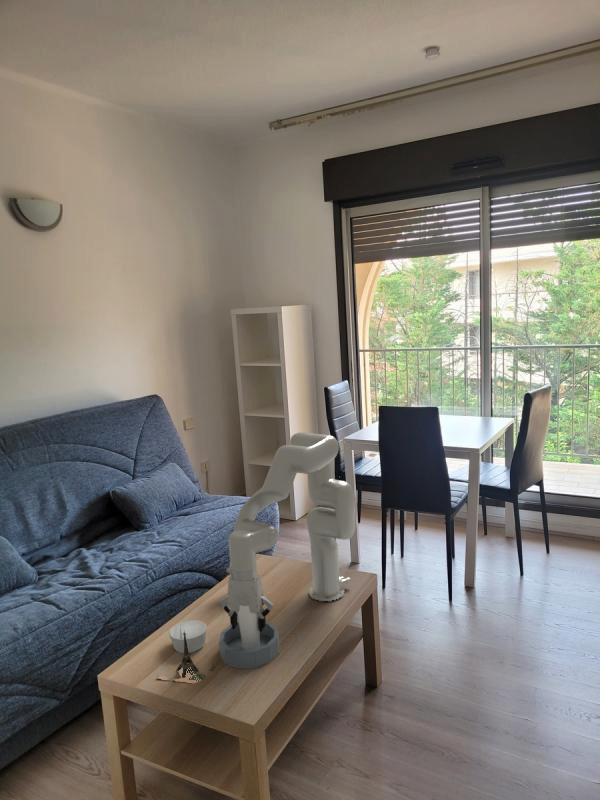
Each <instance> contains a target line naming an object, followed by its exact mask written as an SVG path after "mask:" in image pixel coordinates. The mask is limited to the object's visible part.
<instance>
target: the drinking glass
mask: <svg viewBox="0 0 600 800" xmlns="http://www.w3.org/2000/svg"><path fill="white" fill-rule="evenodd" d="M237 618H238V622H239V628H240V634H241V640H242V647H243V649H244V650H249V649H256V648H258V647H260V631H259V622H258V619H259V618H260V617H259V616H258V614H257V613H250V610H249V606H243V605H240V610H239V612H237Z"/></svg>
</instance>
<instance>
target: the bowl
mask: <svg viewBox="0 0 600 800" xmlns="http://www.w3.org/2000/svg"><path fill="white" fill-rule="evenodd" d="M218 645H219V647H218V648H219V657H220V659H221V660H222V661H223V662H224V664H225V666H230V667H233V668H236V669H239V670H243V669H255V668H256V669H257V668H260V667H261V666H264V665H266V664H269V663H271V662H272V661H273V660H274V659H275V658H276V657H277V656H278V655H279V654H280V636H279V628H277V627H276V626H275V625H274V624H273V623H272V622H269V621H266V626H265V628H264V629H263V630H262V632H260V647H258V648H256V649H249V650H244V649H243V647H242V640H241V634H240V628H239V622H238V625H237V626H236V628H235V629H232V625H231V624H230V625H229V626H227V627H226V628H225V629H224V630H223V631H221V632H220V634H219V640H218Z"/></svg>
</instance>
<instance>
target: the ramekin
mask: <svg viewBox="0 0 600 800" xmlns="http://www.w3.org/2000/svg"><path fill="white" fill-rule="evenodd" d="M207 631H208V626H207V624H206V623H205V622H204V621H200V620H193V619H192V620H191V619H190V620H186V621H181V622H179V623H178V624H176V625H174V626H173V627H172V628H171V629H170V631H169V638H170V639H171V642H172V646H173V649H174V650H176V651H177V652H178V653H180V654H184V635H183V633H184V632H185V633H186V641H187V647H188V652H189V654H190V653H194V652H197V651H199V650H201V648H203V646H204V645H205V643H206V639H207V638H206V637H207Z"/></svg>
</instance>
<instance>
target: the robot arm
mask: <svg viewBox="0 0 600 800" xmlns="http://www.w3.org/2000/svg"><path fill="white" fill-rule="evenodd" d="M339 447H340V446H339V442H338V440H337V439H336V437H334V436H333V435H328V434H322V433H321V434H320V433H312V432H296V433H294V434H293V435H291V437H290V441H289V444H285V445H281V446H280V447H278V449H277V450H276V452H275V455H274V457H273V458H272V459H273V460H272V461H271V465H270V467H269V470H268V473H267V474H266V477H265V479H264V482H263V486H262V487H260V489H258V490H256V492H255V493H253V494H252V495H251V496H250V497H249V498H248V499H247V500H246V502H244V504H243V505H242V507H241V509H240V510H239V513H238V515H237V517H236V520H235V523H234V527H233V531H232V532H231V533H230V534H229V536H228V548H229V549H228V550H229V565H230V564H231V567H230V566H229V567H227V568H226V573H229V574H230V573H231V575H230V576H229V577H228V583H227V595H226V596H224V597H223V598H222V599H221V600H219V604H220V605H221V607H222V608H223V610H224V611H225V612H226V613H227V615H228V617H229V621H230V622H229V623H230V625H232V629H235V628H236V626H237V625H238V616H237V612H239V610H240V605H243V606H249V610H250V613H257V614H258V616H259V617H260V618H259V619H258V622H259V631H260V632H262V630H263V629H264V628H265V626H266V622H267V621H266V616H267V615H269V614H270V612H271V611H272V609H273V607H274V606H275V603H274V602H272V601H271V600H269V599H268V598H267V597H265V595H264V589H263V584H262V581H261V577H260V575H259V574H258V571H257V570H258V568H257V557H256V554H257V553H261V552H265V551H267V550H270V549H272V548H274V546H276V544H277V543H278V541H279V531H278V530H277V528H276V527H274V525H271V524H267V523H263V522H261V521H255V519H256V517H257V516H258V515H259V513H260V512H261V511H262V510H263V509H264V508H266V507H267V506H270V505H272V504H273V505H274V504H275V503H278V502H281V501H284V500H285V499H287V498H288V497H289V495H290V493H291V490H292V487H293V485H294V481H295V479H296V476H297V474H302V475H303V474H304V475H307V487H308V496H309V500H310V502H311V503H312V504H314V505H316V507H313V508H311V509H310V510H309V511H308V513H307V514H306V520H305V521H306V528H307V531H308V536H309V541H310V542H309V543H310V555H311V571H312V573H311V574H312V586H311V587H310V588H309V590H308V595H309V596H310V598H311V599H313V600H314V599H315V601H317V600H318V601H317V602H323V601H328V602H333V601H332V600H334V601H337V600H340V599H341V598H342V597H344V595H345V593H344V592H345V588H344V586H345V585H347V584H350V583H352V579H351V577H348V576H347V577H346V578H345V577H344V576H340V564H339V563H340V562H339V547H338V545H339V544H338V542H337V540H336V539H338V540H343V541H344V540H350V539H351V538H352V537H353V536H354V533H355V529H356V510H355V507H356V506H355V495H354V489H353V487H352V485H351V484H350V483H349V482H347V481H345V480H339V479H335V478H334V477H333V473H332V472H333V471H332V463H331V462H332V461H333V460H335V458H336V457H337V455H338V454H339V451H340V450H339V449H340V448H339ZM317 505H318V506H317ZM340 597H341V598H340ZM339 598H340V599H339ZM336 599H337V600H336ZM264 605H265V606H266V608H265V607H263V606H264Z"/></svg>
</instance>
